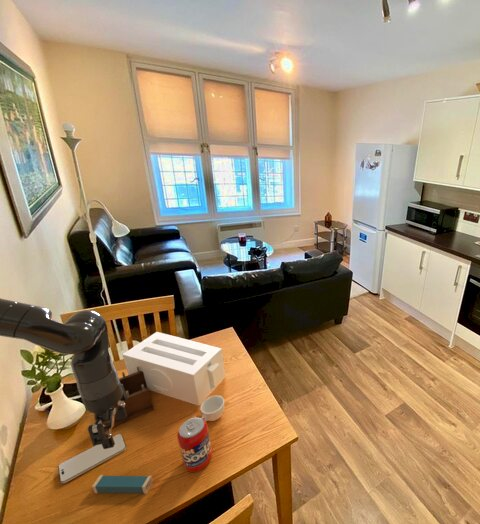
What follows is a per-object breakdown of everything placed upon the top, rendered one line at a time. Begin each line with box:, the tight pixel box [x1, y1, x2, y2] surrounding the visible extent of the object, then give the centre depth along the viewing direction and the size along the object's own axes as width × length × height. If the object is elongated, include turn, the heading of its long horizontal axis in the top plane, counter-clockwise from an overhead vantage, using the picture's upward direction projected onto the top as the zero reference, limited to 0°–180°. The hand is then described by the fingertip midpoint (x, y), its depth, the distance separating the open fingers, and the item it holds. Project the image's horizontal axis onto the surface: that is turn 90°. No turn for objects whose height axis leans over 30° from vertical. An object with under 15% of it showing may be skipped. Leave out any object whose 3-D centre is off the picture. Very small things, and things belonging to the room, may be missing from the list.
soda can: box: [177, 416, 213, 473], centre depth 86 cm, size 8×8×15 cm
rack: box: [103, 367, 155, 433], centre depth 102 cm, size 14×14×11 cm
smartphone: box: [57, 433, 127, 484], centre depth 87 cm, size 7×1×15 cm
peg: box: [91, 474, 154, 495], centre depth 80 cm, size 3×14×3 cm, turn 92°
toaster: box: [122, 331, 226, 407], centre depth 114 cm, size 35×16×15 cm, turn 75°
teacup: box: [199, 394, 226, 422], centre depth 102 cm, size 10×8×5 cm
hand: (116, 432), depth 77 cm, fingers open, 8 cm apart
